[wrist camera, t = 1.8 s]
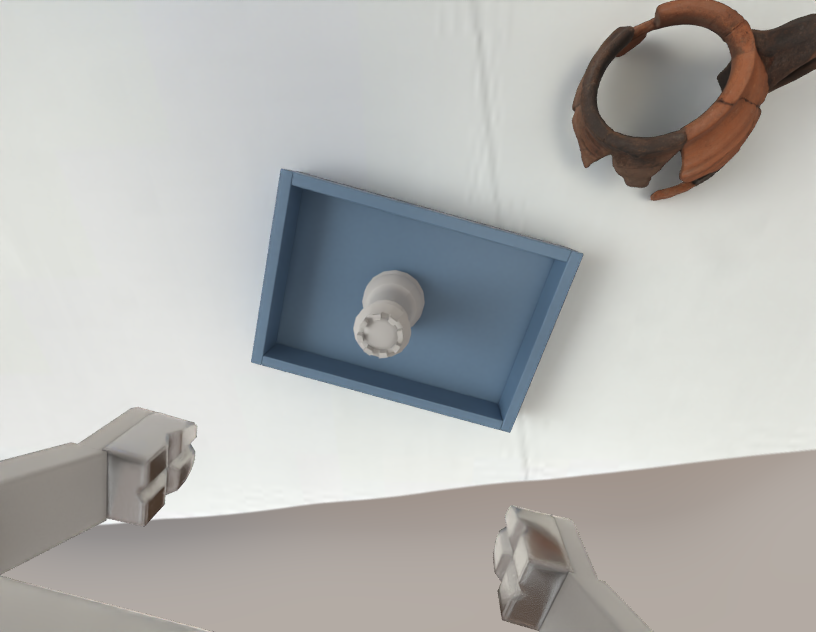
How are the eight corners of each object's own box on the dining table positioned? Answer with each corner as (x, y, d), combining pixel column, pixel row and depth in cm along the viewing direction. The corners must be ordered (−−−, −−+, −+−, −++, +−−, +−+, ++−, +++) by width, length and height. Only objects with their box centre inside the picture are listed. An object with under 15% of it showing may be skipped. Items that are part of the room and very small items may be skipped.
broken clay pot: (613, 236, 27) (609, 205, 20) (556, 125, 29) (534, 60, 22) (836, 131, 22) (942, 37, 14) (749, 4, 23) (804, -136, 16)
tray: (267, 346, 31) (250, 362, 28) (296, 171, 27) (280, 168, 24) (503, 411, 31) (510, 433, 28) (568, 247, 27) (584, 253, 24)
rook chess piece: (397, 255, 27) (382, 279, 20) (437, 302, 28) (438, 341, 21) (352, 295, 28) (321, 332, 21) (392, 338, 29) (377, 389, 22)
